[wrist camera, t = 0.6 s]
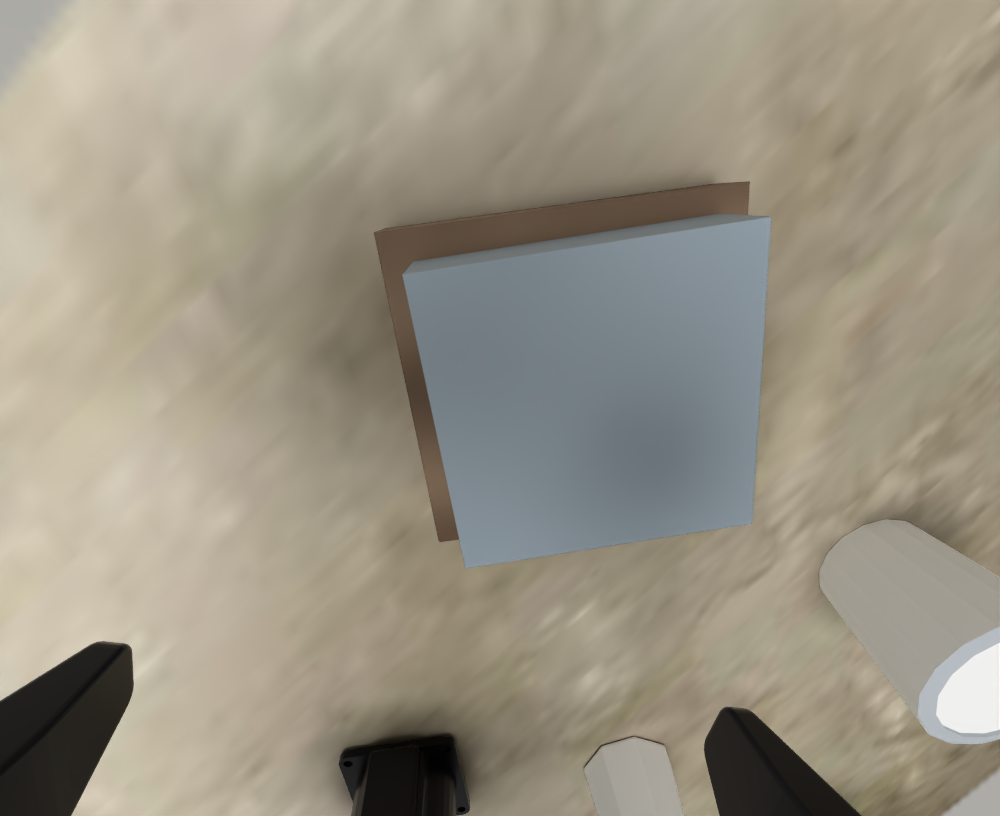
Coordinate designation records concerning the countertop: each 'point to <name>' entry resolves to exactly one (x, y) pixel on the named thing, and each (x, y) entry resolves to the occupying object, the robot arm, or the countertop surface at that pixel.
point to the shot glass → (923, 624)
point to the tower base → (506, 231)
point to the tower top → (596, 384)
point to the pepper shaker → (633, 780)
